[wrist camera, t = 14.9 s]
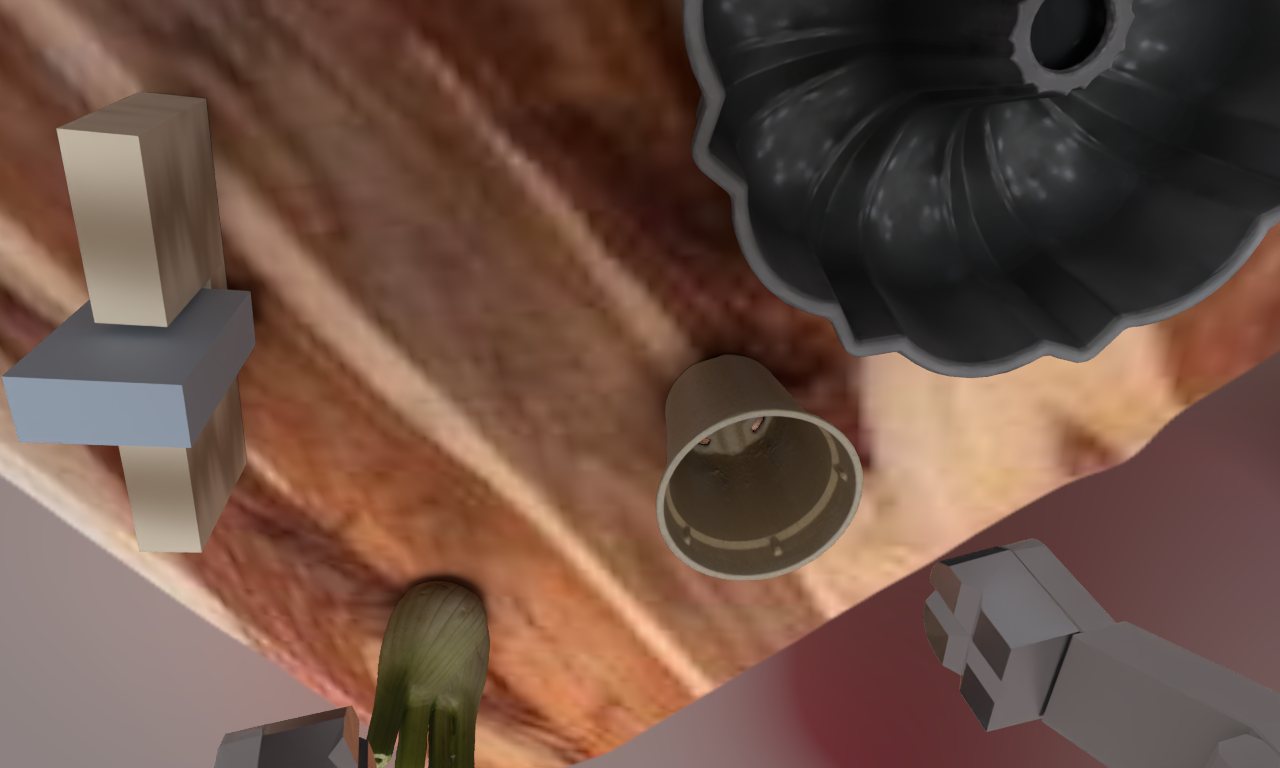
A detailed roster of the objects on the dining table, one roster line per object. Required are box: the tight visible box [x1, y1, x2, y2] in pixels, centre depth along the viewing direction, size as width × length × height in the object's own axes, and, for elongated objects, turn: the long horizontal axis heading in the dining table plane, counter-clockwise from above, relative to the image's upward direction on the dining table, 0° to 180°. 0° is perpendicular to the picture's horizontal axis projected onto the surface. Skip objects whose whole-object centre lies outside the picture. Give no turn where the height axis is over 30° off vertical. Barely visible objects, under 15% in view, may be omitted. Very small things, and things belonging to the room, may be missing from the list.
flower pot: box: [656, 355, 863, 581], centre depth 41 cm, size 9×9×9 cm
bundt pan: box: [682, 0, 1280, 378], centre depth 32 cm, size 26×26×10 cm
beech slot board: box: [57, 92, 247, 552], centre depth 35 cm, size 18×2×7 cm, turn 173°
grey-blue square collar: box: [2, 288, 256, 448], centre depth 33 cm, size 6×3×8 cm, turn 83°
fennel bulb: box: [366, 580, 490, 768], centre depth 43 cm, size 6×5×12 cm
